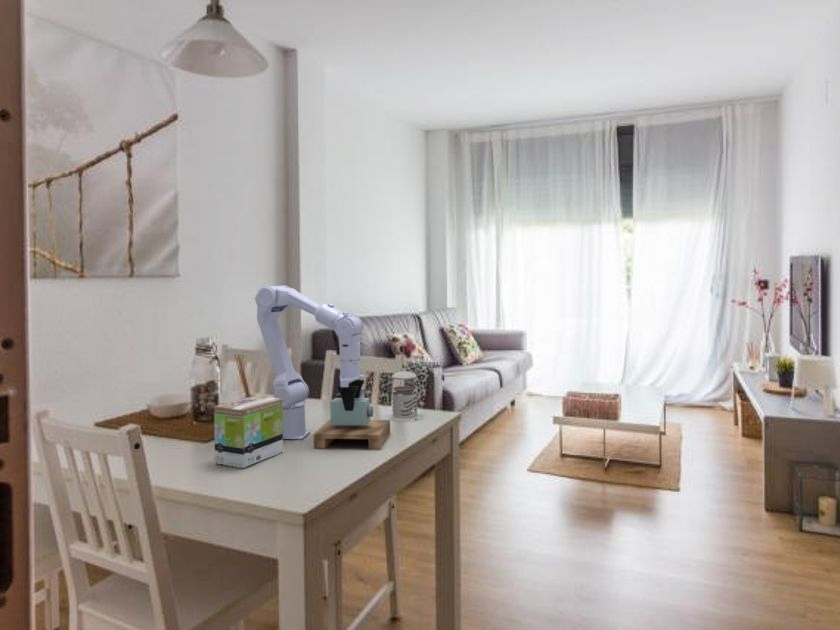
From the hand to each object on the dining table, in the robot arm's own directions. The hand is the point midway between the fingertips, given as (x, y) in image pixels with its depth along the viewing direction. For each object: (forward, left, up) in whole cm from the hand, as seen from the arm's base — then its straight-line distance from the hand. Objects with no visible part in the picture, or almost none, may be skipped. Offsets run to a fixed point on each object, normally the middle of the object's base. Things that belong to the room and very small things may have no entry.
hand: (351, 408), depth 165 cm
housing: (0, 0, -4) cm, 4 cm away
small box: (-5, +19, -10) cm, 21 cm away
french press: (+11, +29, -10) cm, 32 cm away
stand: (0, +1, -9) cm, 9 cm away
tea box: (-23, -16, -10) cm, 30 cm away
